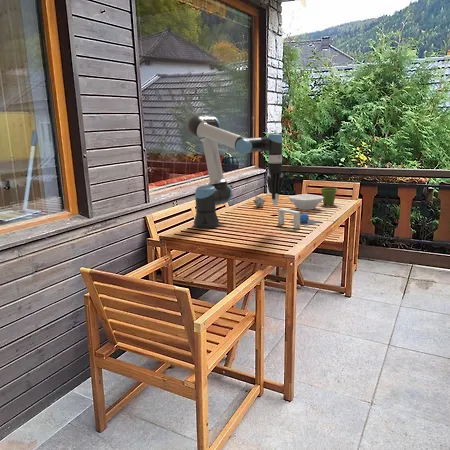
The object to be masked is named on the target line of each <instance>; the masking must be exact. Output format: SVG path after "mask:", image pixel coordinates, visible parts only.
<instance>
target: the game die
mask: <svg viewBox="0 0 450 450" xmlns="http://www.w3.org/2000/svg"><path fill="white" fill-rule="evenodd" d="M265 202H266V200H265V198H264V195H261V196H257V195H255V199H254V200H253V203H254V204H255V207H256V208H258V207H264V204H265Z"/></svg>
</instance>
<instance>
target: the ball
mask: <svg viewBox="0 0 450 450" xmlns="http://www.w3.org/2000/svg"><path fill="white" fill-rule="evenodd" d="M309 217H310V216H309V214H307V213H305V212H304V213H300V221H301V222H307V221H308V219H310V218H309Z"/></svg>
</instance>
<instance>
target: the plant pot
mask: <svg viewBox="0 0 450 450" xmlns="http://www.w3.org/2000/svg"><path fill="white" fill-rule="evenodd" d="M320 191H321V196H322V197H324V198H323V200H322V201H323V205H325V204H327V205H326V206H333V205H335V201H336V200H335V199H336V194H337V191H338V188H337V187H322V188H320ZM332 204H333V205H332Z"/></svg>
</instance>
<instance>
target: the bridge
mask: <svg viewBox="0 0 450 450" xmlns="http://www.w3.org/2000/svg"><path fill="white" fill-rule="evenodd" d="M277 213H278V216H277V217H278V219H277V221H278V223H277V224H278V225H284V224H285V213H286V214H291V215H293V221H294V223H293V229H300V228H301V224H300V215H301V211H297V210H293V209H288V208H282V207H281V208H278V211H277Z"/></svg>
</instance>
